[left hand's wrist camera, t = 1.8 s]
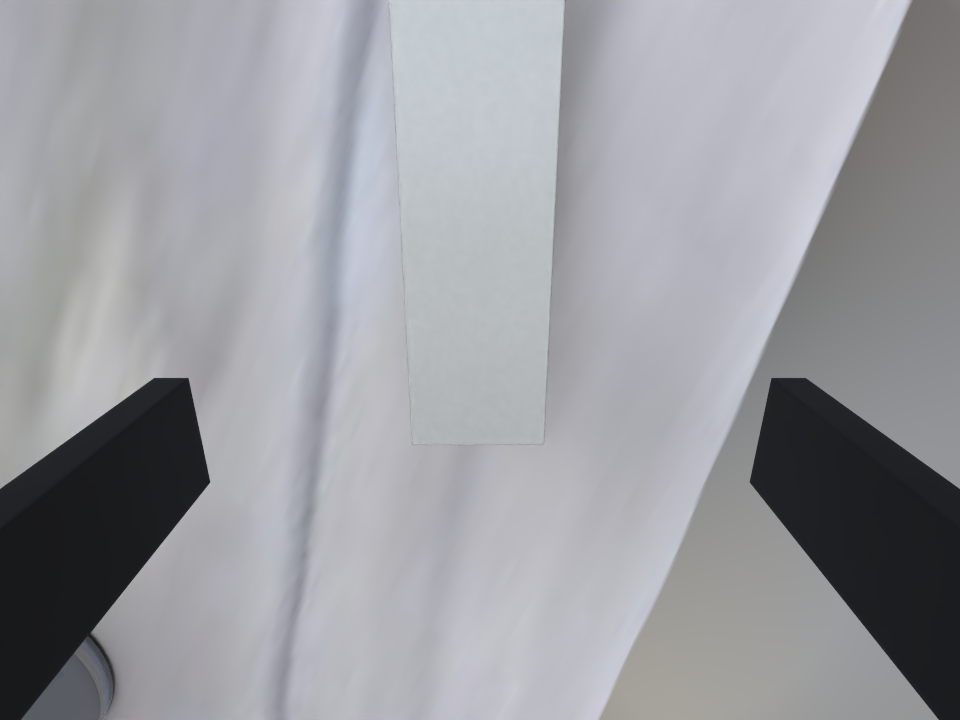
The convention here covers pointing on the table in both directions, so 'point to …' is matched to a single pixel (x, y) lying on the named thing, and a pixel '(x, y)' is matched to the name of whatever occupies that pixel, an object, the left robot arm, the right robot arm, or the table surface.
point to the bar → (477, 211)
